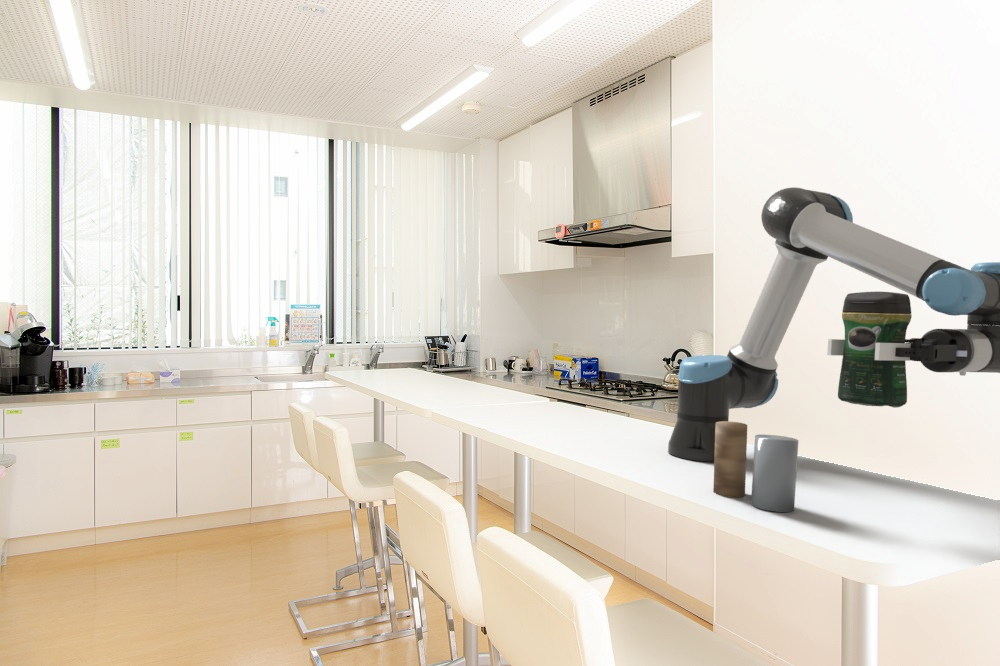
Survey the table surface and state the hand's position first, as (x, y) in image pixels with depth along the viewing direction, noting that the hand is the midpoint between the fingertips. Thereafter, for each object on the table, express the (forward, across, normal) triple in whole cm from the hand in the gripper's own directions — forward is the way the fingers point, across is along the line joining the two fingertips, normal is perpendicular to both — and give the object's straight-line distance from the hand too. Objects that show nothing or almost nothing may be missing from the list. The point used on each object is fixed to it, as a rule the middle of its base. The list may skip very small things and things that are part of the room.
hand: (852, 349), depth 105 cm
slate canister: (+5, +10, -28) cm, 31 cm away
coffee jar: (-5, 0, -9) cm, 10 cm away
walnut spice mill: (+7, +19, -28) cm, 35 cm away
